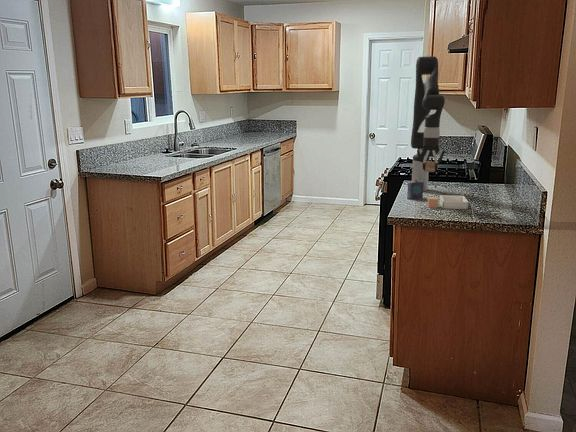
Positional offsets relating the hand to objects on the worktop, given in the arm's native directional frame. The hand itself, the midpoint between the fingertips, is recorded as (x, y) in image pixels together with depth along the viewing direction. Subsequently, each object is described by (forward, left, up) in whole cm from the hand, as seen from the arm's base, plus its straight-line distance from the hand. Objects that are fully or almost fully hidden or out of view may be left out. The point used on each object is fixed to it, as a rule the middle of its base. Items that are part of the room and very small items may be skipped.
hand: (429, 170), depth 254 cm
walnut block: (0, 0, 0) cm, 0 cm away
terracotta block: (+7, +2, -17) cm, 19 cm away
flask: (-13, -6, -18) cm, 22 cm away
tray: (+3, +12, -17) cm, 21 cm away
